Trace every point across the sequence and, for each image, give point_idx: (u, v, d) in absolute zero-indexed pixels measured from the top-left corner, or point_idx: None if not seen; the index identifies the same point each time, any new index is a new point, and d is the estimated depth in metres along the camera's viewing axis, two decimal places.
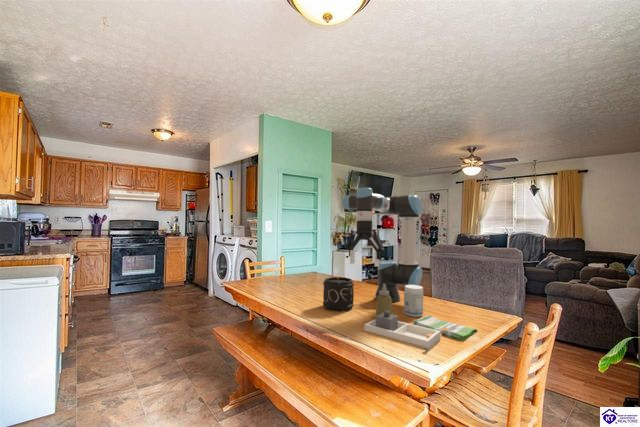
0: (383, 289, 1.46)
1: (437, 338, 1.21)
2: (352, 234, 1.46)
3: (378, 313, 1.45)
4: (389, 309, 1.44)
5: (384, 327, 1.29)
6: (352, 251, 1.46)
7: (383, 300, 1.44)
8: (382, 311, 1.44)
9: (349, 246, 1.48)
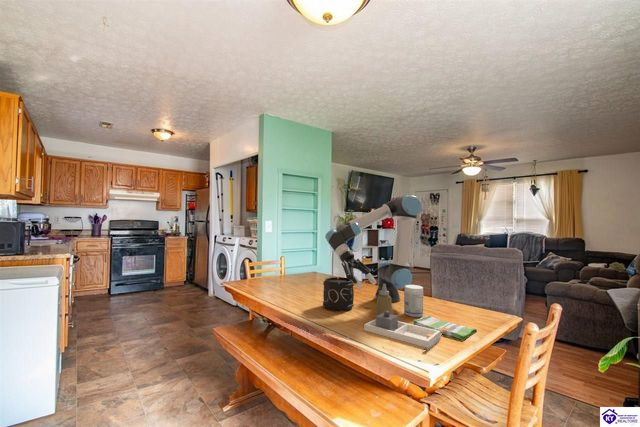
0: (383, 289, 1.46)
1: (437, 338, 1.21)
2: (357, 264, 1.64)
3: (378, 313, 1.45)
4: (389, 309, 1.44)
5: (384, 327, 1.29)
6: (367, 275, 1.60)
7: (383, 300, 1.44)
8: (382, 311, 1.44)
9: None
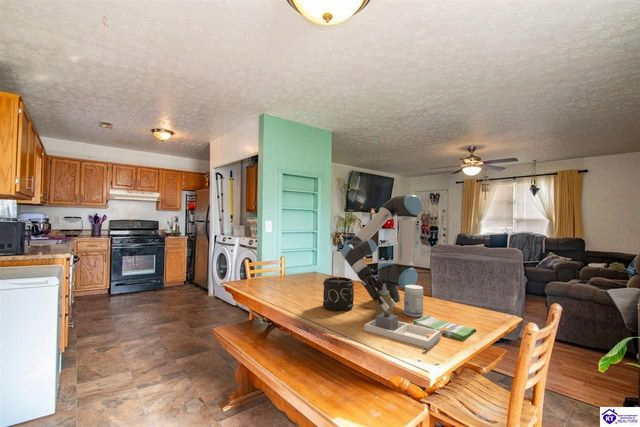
0: (383, 289, 1.46)
1: (437, 338, 1.21)
2: None
3: (378, 313, 1.45)
4: (389, 309, 1.44)
5: (384, 327, 1.29)
6: None
7: None
8: (382, 311, 1.44)
9: None
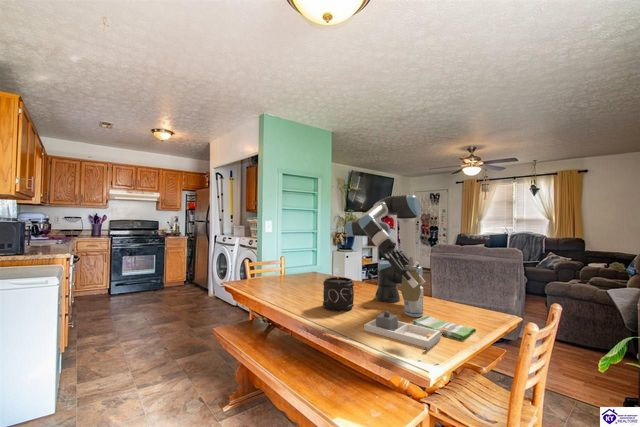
0: (410, 263, 1.24)
1: (437, 338, 1.21)
2: (399, 257, 1.34)
3: (404, 291, 1.23)
4: (417, 286, 1.22)
5: (384, 327, 1.29)
6: None
7: None
8: (409, 288, 1.21)
9: None
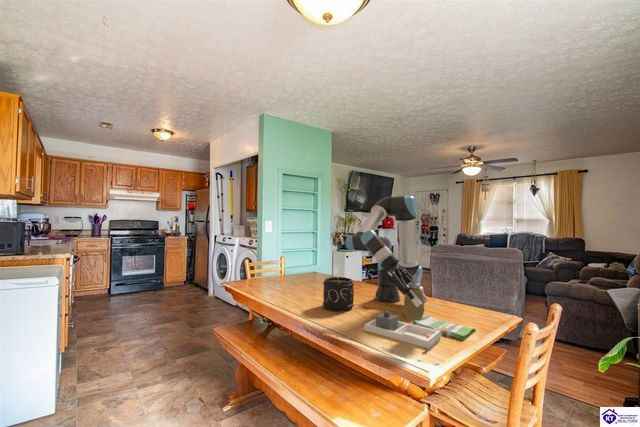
0: (413, 281, 1.23)
1: (437, 338, 1.21)
2: None
3: (407, 310, 1.21)
4: (421, 305, 1.20)
5: (384, 327, 1.29)
6: None
7: None
8: (412, 307, 1.20)
9: None
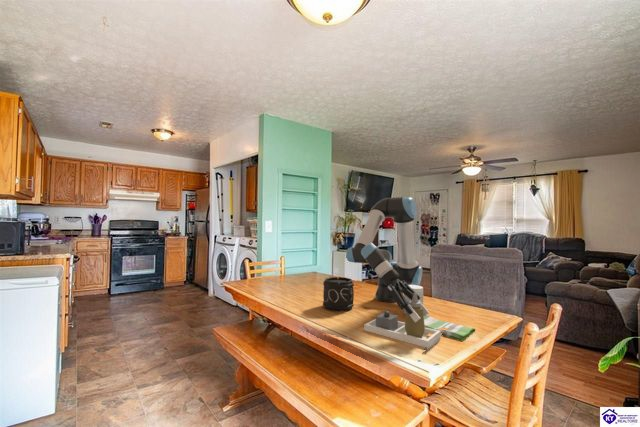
0: (414, 300, 1.23)
1: (437, 338, 1.21)
2: None
3: (408, 328, 1.22)
4: (421, 324, 1.21)
5: (384, 327, 1.29)
6: None
7: None
8: (413, 326, 1.20)
9: None
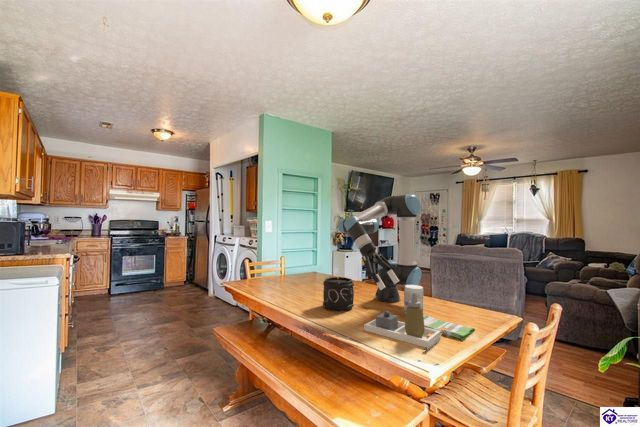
0: (413, 299, 1.23)
1: (437, 338, 1.21)
2: None
3: (408, 328, 1.22)
4: (421, 324, 1.21)
5: (384, 327, 1.29)
6: (388, 272, 1.42)
7: (414, 313, 1.21)
8: (413, 326, 1.20)
9: None
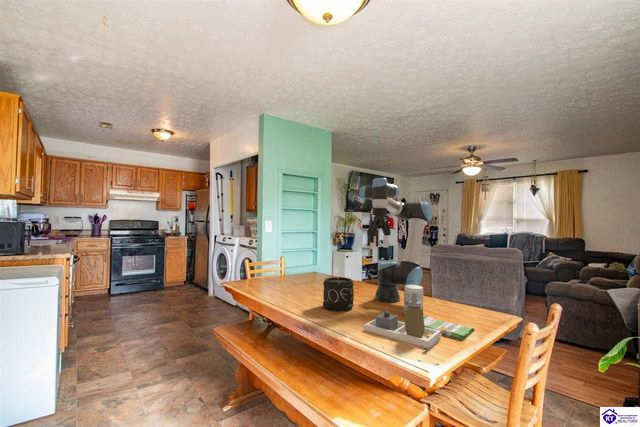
0: (414, 299, 1.23)
1: (437, 338, 1.21)
2: None
3: (408, 328, 1.22)
4: (421, 324, 1.21)
5: (384, 327, 1.29)
6: (384, 236, 1.62)
7: (414, 313, 1.21)
8: (413, 326, 1.20)
9: (388, 232, 1.63)
